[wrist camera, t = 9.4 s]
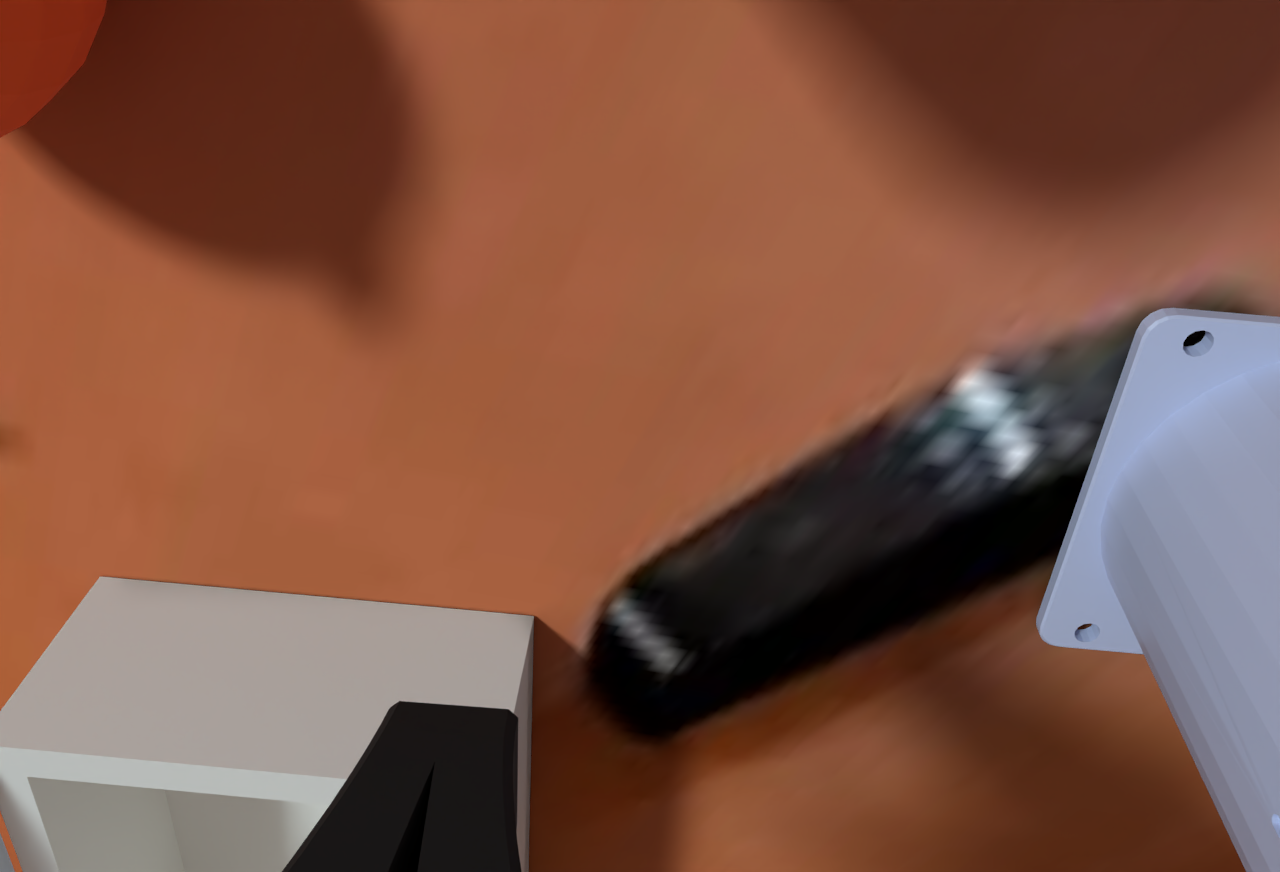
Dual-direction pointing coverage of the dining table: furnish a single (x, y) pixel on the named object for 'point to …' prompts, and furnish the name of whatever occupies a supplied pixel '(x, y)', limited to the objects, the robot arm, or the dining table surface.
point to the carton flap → (4, 858)
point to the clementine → (41, 52)
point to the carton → (229, 720)
